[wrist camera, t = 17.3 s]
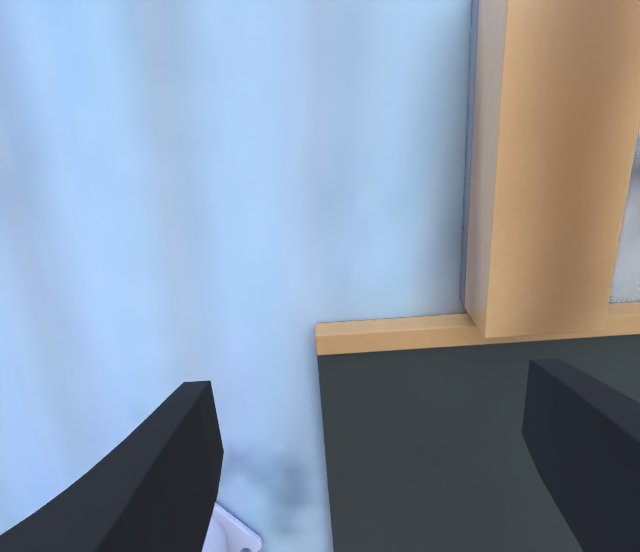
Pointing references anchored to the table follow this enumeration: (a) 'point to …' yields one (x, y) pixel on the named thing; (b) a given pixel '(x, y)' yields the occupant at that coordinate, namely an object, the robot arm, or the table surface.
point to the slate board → (448, 430)
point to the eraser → (547, 161)
